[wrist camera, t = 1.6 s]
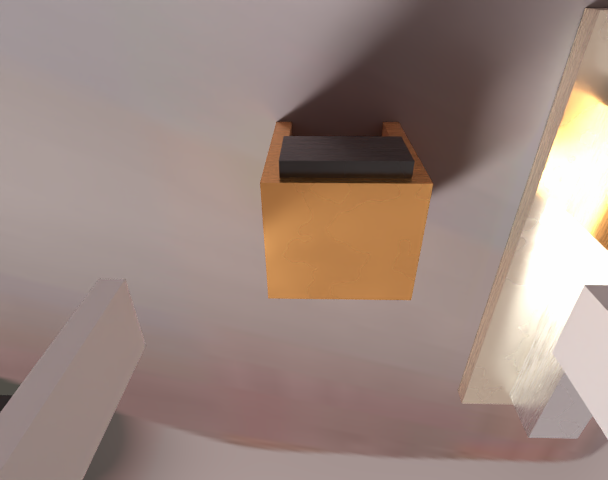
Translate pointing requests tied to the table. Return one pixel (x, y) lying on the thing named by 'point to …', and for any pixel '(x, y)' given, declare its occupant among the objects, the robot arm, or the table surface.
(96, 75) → the table surface
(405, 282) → the orange cube
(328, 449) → the table surface
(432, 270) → the table surface
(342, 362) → the table surface
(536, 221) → the rail
